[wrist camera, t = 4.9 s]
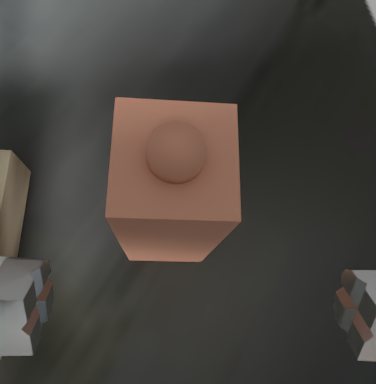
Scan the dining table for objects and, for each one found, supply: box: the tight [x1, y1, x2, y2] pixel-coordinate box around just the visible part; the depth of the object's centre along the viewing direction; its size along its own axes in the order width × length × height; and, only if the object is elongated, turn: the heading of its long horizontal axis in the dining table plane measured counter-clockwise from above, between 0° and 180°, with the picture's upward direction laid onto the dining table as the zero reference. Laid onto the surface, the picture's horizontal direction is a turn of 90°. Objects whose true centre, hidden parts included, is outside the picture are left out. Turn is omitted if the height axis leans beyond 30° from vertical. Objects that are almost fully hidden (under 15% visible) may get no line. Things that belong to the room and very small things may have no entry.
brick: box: [105, 97, 241, 262], centre depth 16 cm, size 4×4×11 cm
